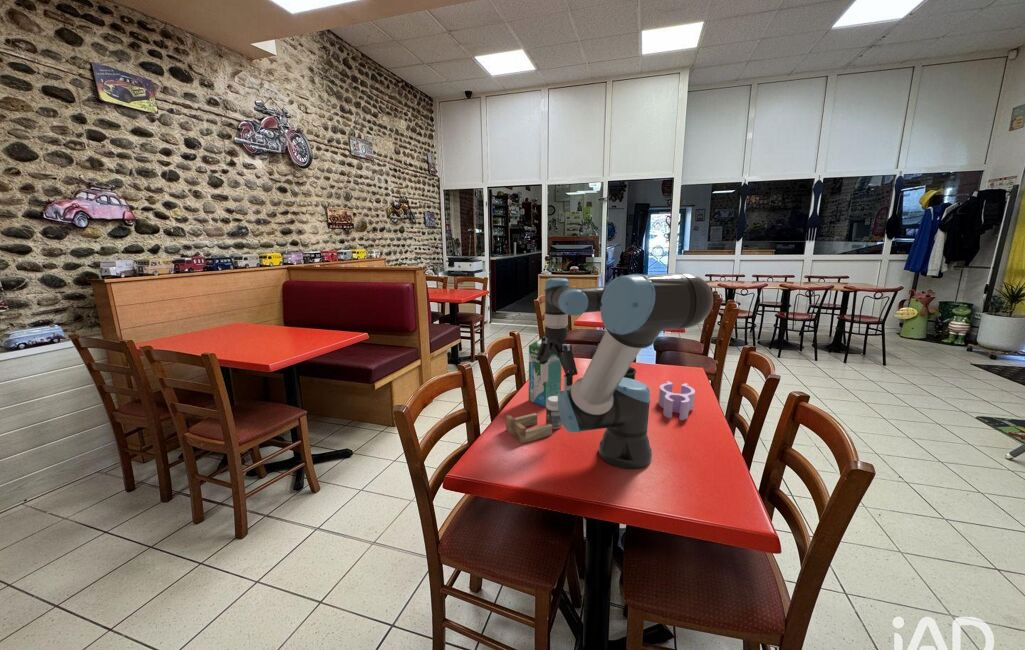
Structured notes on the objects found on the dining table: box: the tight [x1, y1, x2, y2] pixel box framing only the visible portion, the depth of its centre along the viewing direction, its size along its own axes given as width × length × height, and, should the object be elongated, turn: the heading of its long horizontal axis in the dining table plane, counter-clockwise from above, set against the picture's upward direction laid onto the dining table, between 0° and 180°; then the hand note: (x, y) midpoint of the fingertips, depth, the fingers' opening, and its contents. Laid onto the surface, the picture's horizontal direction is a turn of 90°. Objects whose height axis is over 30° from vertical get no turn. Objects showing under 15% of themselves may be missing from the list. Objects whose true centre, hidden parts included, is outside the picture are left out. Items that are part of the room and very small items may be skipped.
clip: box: [658, 380, 696, 421], centre depth 151 cm, size 20×12×7 cm, turn 158°
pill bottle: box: [545, 396, 563, 430], centre depth 138 cm, size 6×6×10 cm
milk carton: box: [528, 335, 562, 408], centre depth 156 cm, size 9×9×25 cm
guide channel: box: [505, 412, 553, 444], centre depth 134 cm, size 10×12×5 cm
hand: (555, 387), depth 135 cm, fingers open, 13 cm apart
